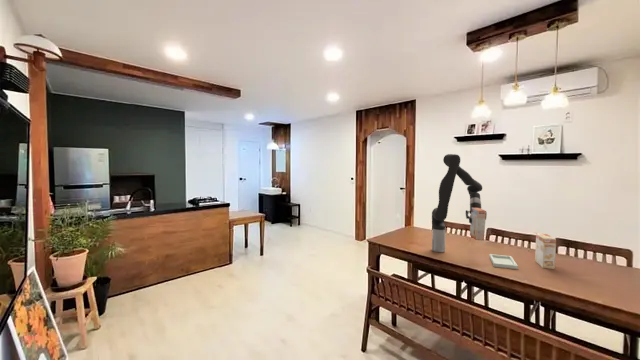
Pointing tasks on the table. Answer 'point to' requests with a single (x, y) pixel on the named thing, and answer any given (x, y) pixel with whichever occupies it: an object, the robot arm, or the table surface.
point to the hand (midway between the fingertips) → (476, 223)
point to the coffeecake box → (545, 250)
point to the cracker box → (477, 223)
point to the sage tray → (503, 261)
